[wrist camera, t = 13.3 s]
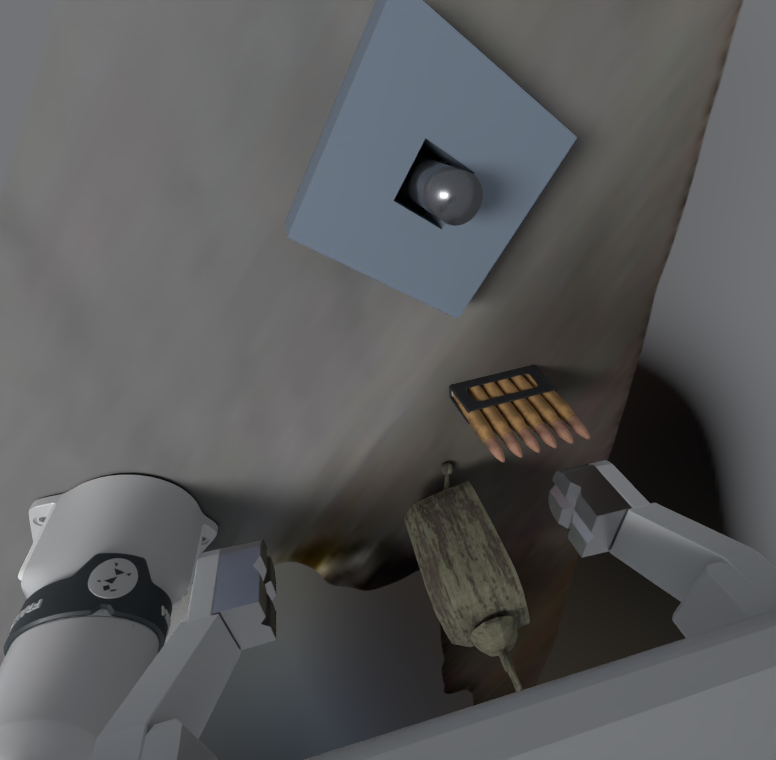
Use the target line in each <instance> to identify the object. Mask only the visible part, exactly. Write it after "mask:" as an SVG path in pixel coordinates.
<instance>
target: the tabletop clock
mask: <svg viewBox="0 0 776 760" xmlns="http://www.w3.org/2000/svg"><path fill="white" fill-rule="evenodd" d="M452 470H453V467H452V465H451V464H450V463H444V464H442V465H441V472H442V473H443V474H444V475H445V480H444V490H443V491H442V492H439V493H437V494H434V495H432V496H429V497H427V498H424V499H421V500H419V501H417V502H414V503H413V505H412V506H411V507H410V509H409V510H408V511H407V513H406V514H405V515H404V519H405V523H406V526H407V530H408V533H409V536H410V539H411V543H412V546H413V549H414V552H415V555H416V559H417V562H418V565H419V568H420V571H421V574H422V577H423V580H424V583H425V586H426V589H427V592H428V595H429V598H430V601H431V604H432V606H433V608H434V611H435V613H436V615H437V617H438V619H439V621H440V623H441V625H442V627H443V629H444V631H445V633H446V634H447V636H448V638H449V640H450V641H451V643H452V644H456V645H462V646H467V647H472V646H476V647H477V648H478V649H479V650H480V651H482V652H484V653H486V654H488V655H490V656H499V657H500V660H501V662H502V665H503V667H504V669H505V671H507V672H508V674H509V676H510V678H511V680H512V682H513V685H514V687H515V689H516V692H519V691H522V690H523V688H522V686H521V684H520V682H519V679H518V677H517V675H516V673H515V671H514V667H515V666H514V663H513V661H512V659H511V656H510V654H509V652H508V651H510V650H511V649H512V648H513V647H514V646H515V643H516V640H517V637H518V628H519V627H521V626H523V625H526V624H528V623H530V619H529V613H528V608H527V604H526V600H525V596H524V592H523V589H522V586H521V583H520V580H519V577H518V575H517V572H516V570H515V568H514V566H513V564H512V562H511V559H510V557H509V555H508V553H507V551H506V549H505V547H504V545H503V543H502V541H501V539H500V537H499V535H498V533H497V531H496V529H495V527H494V526H493V524H492V522H491V520H490V518H489V516H488V514H487V512H486V510H485V508H484V507H483V505H482V503H481V501H480V499H479V497H478V495H477V494H476V492H475V490H474V488H473V487H472V485H471V483H470V482H469V481H466V482H464V483H461V484H459V485H456V486H454V487H451V488H450V481H449V474H451V473H452Z"/></svg>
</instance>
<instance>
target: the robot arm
mask: <svg viewBox="0 0 776 760" xmlns="http://www.w3.org/2000/svg"><path fill="white" fill-rule="evenodd" d="M552 481H553V482H554V483H555V486H554V487H553V488H552V489H551V490H550V492H549V497H548V501H549V506H550V510H551V512H552V514H553V516H554V518H555V519H556V521H557V522H558V523H559V524H560V525H562V526H564V527H566V528H567V529H568V535H567V537H568V538H569V540H570V541H571V543H572V544H573V546H574V547H575V548H576V550H577V551H578V553H579V554H580V556H581V557H586V556H591V555H595V554H599V553H603V552H608V551H610V553H611V554H612V555H614V556H615V557H617V558H618V559H620V560H621V561H622V562H624V563H625V564H627V565H628V566H630V567H631V568H633V569H634V570H636V571H637V572H638V573H640V574H641V575H643V576H644V577H646V578H647V579H649V580H650V581H652V582H653V583H654V584H656V585H658V586H659V587H660V588H662V589H663V590H665V591H666V592H668V593H669V594H670V595H672V596H673V597H675V598H676V599H678V600H679V601H681V604H680V605H679V606H678V608H677V609H676V611H675V612H674V614H673V619H672V620H673V621H674V623H675V624H676V626H677V627H678V628H679V629H680V631H681V632H682V633H683V635H684V636H685V637H686V639H683V640H680V641H676V642H673V643H670V644H667V645H664V646H661V647H657V648H654V649H651V650H648V651H645V652H642V653H639V654H635V655H632V656H629V657H626V658H623V659H620V660H616V661H613V662H611V663H607V664H604V665H601V666H598V667H595V668H591V669H589V670H585V671H582V672H579V673H576V674H572V675H570V676H566V677H563V678H560V679H557V680H554V681H550V682H547V683H544V684H541V685H538V686H535V687H532V688H528V689H525V690H522V691H519V692H516V693H513V694H510V695H506V696H503V697H500V698H497V699H494V700H491V701H487V702H484V703H481V704H478V705H475V706H472V707H469V708H466V709H462V710H460V711H456V712H453V713H450V714H447V715H443V716H441V717H437V718H434V719H431V720H428V721H425V722H421V723H418V724H415V725H412V726H409V727H406V728H403V729H399V730H396V731H393V732H390V733H387V734H384V735H381V736H377V737H374V738H371V739H368V740H365V741H362V742H358V743H355V744H352V745H349V746H346V747H343V748H340V749H337V750H333V751H330V752H327V753H324V754H321V755H318V756H314V757H311V758H308V759H305V760H776V568H775V567H774V566H773V565H771V564H770V563H769V562H768V561H767V560H766V559H765V558H764V557H763V556H762V555H761V554H760V553H758V552H757V551H756V550H754V549H752V548H750V547H748V546H746V545H744V544H742V543H740V542H737V541H735V540H733V539H731V538H729V537H727V536H725V535H723V534H720V533H718V532H716V531H714V530H712V529H710V528H707V527H705V526H703V525H701V524H699V523H697V522H695V521H693V520H691V519H688V518H686V517H684V516H682V515H680V514H678V513H676V512H674V511H671V510H669V509H667V508H665V507H663V506H661V505H659V504H657V503H652V504H650V503H649V502H648V501H647V500H646V499H645V498H644V497H643V496H642V495H641V494H640V493H639V492H638V490H637V489H636V488H635V487H634V486H632V484H631V483H630V482H629V481H628V480H627V479H626V478H625V477H624V476H623V475H622V474H621V473H620V472H619V471H618V470H617V469H616V467H615V466H614V465H613V464H612V463H610V462H608V461H606V460H605V461H599V462H595V463H592V464H585V465H581V466H577V467H573V468H569V469H565V470H561V471H557V472H556V473H555V474H554V477H553V480H552ZM29 519H30V525H31V531H32V538H33V545H32V547H31V549H30V551H29V553H28V555H27V557H26V559H25V561H24V563H23V565H22V567H21V569H20V572H19V575H18V578H19V579H20V580H22V581H21V587H22V590H23V592H24V594H25V596H26V598H27V600H26V601H25V603H24V605H23V607H22V609H21V611H20V613H19V614H18V615H17V617H16V618H15V620H14V622H13V624H12V626H11V628H10V633H9V636H8V638H7V641H6V643H5V645H4V655H5V658H4V660H3V662H2V664H1V666H0V760H218V759H217V758H216V757H215V756H214V755H213V754H212V753H211V752H210V751H209V750H208V749H207V748H206V747H205V746H204V745H203V744H202V743H201V742H200V741H199V740H198V738H199V737H200V735H201V733H202V730H203V728H204V726H205V724H206V723H207V720H208V719H209V717H210V715H211V713H212V710H213V709H214V706H215V705H216V702H217V700H218V698H219V696H220V694H221V692H222V690H223V688H224V686H225V684H226V682H227V680H228V678H229V676H230V674H231V672H232V670H233V668H234V666H235V664H236V662H237V660H238V658H239V656H240V654H241V651H240V650H244V649H247V648H250V647H254V646H257V645H261V644H264V643H267V642H271V641H274V640H276V610H275V608H274V605H273V603H272V600H273V599H274V597H275V595H276V578H275V570H274V566H273V562H272V559H271V557H269V556H267V546H266V544H265V542H264V540H259V541H255V542H250V543H245V544H240V545H236V546H231V547H226V548H221V549H216V550H212V551H207V552H203V551H204V550H205V549H206V548H207V546H208V545H209V544H210V543H211V542H212V541H213V540H214V538H215V537H216V535H217V532H218V525H217V524H216V523H215V522H213V521H212V520H211V519H209V518H208V517H206V516H205V515H204V514H203V513H202V511H201V509H200V507H199V505H198V504H197V502H196V501H195V499H194V498H193V497H192V496H191V495H190V494H189V493H187V492H186V491H185V490H183V489H182V488H180V487H178V486H176V485H174V484H172V483H170V482H167V481H164V480H161V479H157V478H153V477H148V476H141V475H113V476H106V477H101V478H97V479H93V480H90V481H87V482H85V483H83V484H80V485H78V486H77V487H75V488H73V489H71V490H70V491H68V492H66V493H63V494H60V495H55V496H50V497H45V498H41V499H38V500H36V501H34V502H33V503H32V505H31V508H30V510H29ZM202 552H203V553H202ZM198 557H199V558H198ZM194 574H195V576H194ZM193 579H194V581H193ZM192 583H193V587H192V593H191V599H190V605H189V610H188V616H187V621H186V622H183V623H180V624H179V625H178V627H177V628H176V630H175V631H174V632H173V634H172V635H171V636H170V638H169V639H168V641H167V642H166V643H165V639H166V636H167V635H168V631H169V627H170V621H171V620H170V617H171V612H172V607H173V608H174V607H177V606H178V605H179V603H180V601H181V598H182V597H183V596H185V595H186V594H187V593H188V591H189V590H190V589H191V586H192ZM164 643H165V645H164Z"/></svg>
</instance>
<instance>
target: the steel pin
mask: <svg viewBox="0 0 776 760" xmlns="http://www.w3.org/2000/svg"><path fill="white" fill-rule="evenodd" d="M399 190H400V192H401V193H402V194H404V195H405V196H406V197H408V198H409V199H411V200H412V201H414V202H415V203H417V204H418V205H420V206H421V207H423V208H424V209H425V210H427V211H428V212H430V213H431V214H433V215H434V216H436V217H437V218H439V219H440V220H442V221H443V222H445V223H446V224H449V225H453V226H458V225H462V224H465V223H467V222H468V221H470V220H471V219H472V218H473V217H474V216H475V215H476V214H477V212H478V210H479V209H480V206H481V203H482V199H483V191H482V186H481V183H480V181H479V180H478V178H477V177H476V176H475V175H473V174H472V173H470V172H467V171H464V170H461V169H458V168H455V167H452V166H449V165H446V164H443V163H440V162H437V161H435V160H432V159H429V158H426V157H423V156H419V155H417V156H416V158H415V160H414V162H413V164H412V166H411V168H410V170H409V171H408V173H407V175H406V177H405V179H404V181H403V183H402V185H401V187H400V189H399Z"/></svg>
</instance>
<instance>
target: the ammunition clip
mask: <svg viewBox="0 0 776 760" xmlns="http://www.w3.org/2000/svg"><path fill="white" fill-rule="evenodd" d="M449 389H450V398H451V400H452V401H453V403H454V404H455V406H456V407H457V408H458V410H459V411H460V413H461V414H462V416H463V417H464V418H465V420H466V421H467V423H468V424H470V425H471V426H472V428H473V429H474V431H475V433H476V434H477V436H478V437H479V438H480V439H481V440H482V441H483V442H484V444H485V445H486V446H487V448H488V449H489V450H490V452H491V453H492V454H493V455H494V456H495V457H496V458H497V459H498V460H499V461H501V462H503V463H504V462H505V456H504V453H503V450H502V448H501V446H500V444H499V442H498V441H497V439H496V437H495V435H494V434H493V431H494V432H495V433H496V434H497V435H498V436H499V437H500V438H501V440H502V441H503V442H504V443H505V445H506V446H507V447H508V448H509V449H510V450H511V451H512V452H513V453H514V454H515V455H516V456H518V457H520V458H522V457H523V454H522V450H521V447H520V445H519V443H518V441H517V439H516V438H515V436H514V435H513V433H512V431H511V430H510V428H511V429H512V430H513V431H515V432H516V433H517V435H518V436H519V437H520V438H521V439H522V440H523V442H524V443H525V444H526V445H527V446H528V447H529V448H531V449H532V450H533V451H535V452H537V453H540V447H539V445H538V442H537V440H536V438H535V437H534V435H533V434H532V432H531V431H530V429H529V428H528V426H529V427H531V428H532V429H533V430H534V432H535V433H537V435H538V436H539V437H540V438H541V439H542V440H543V441H544V442H545V443H547V444H548V445H549V446H551V447H553V448H557V444H556V441H555V439H554V437H553V435H552V433H551V432H550V430H549V429H548V428H547V427H546V425H545V424H544V422H545V423H546V424H548V426H549V427H550V428H552V429H553V430H554V432H555V433H556V434H557V435H559V436H560V437H561V438H562V439H563V440H565V441H567V442H568V443H571V444H573V443H574V441H573V437H572V435H571V433H570V432H569V430H568V429H567V427H566V426H565V425H564V424H563V422H562V421H561V420H560V419H562V420H563V421H564V422H565V423H566V424H568V425H569V426H570V428H571V429H573V430H574V431H575V432H576V433H577V434H579V435H580V436H582V437H584V438H586V439H590V434H589V432H588V430H587V429H586V427H585V426H584V424H583V423H582V422H581V420H580V419H579V418H578V417H577V416H576V415H575V413H574V412H573V411H572V409H571V408H570V406H569V405H568V404H567V403H566V402H565V401H564V400H563V399H562V398H561V397H560V396H559V395H558V394H557V393H556V388H555V387H554V386H553V385H552V384H551V383H550V382H549V381H548V379H547V378H546V377H545V376H544V375H543V374H542V373H541V372H540V371H539V369H538V368H537V367H536V366H535V365H531V366H526V367H522V368H518V369H514V370H510V371H506V372H502V373H498V374H493V375H489V376H485V377H481V378H477V379H473V380H469V381H465V382H461V383H456V384H452V385H450V386H449ZM554 390H555V391H554ZM543 421H544V422H543ZM526 424H527V425H528V426H527V425H526ZM508 425H509V426H508ZM509 427H510V428H509ZM492 430H493V431H492Z"/></svg>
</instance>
